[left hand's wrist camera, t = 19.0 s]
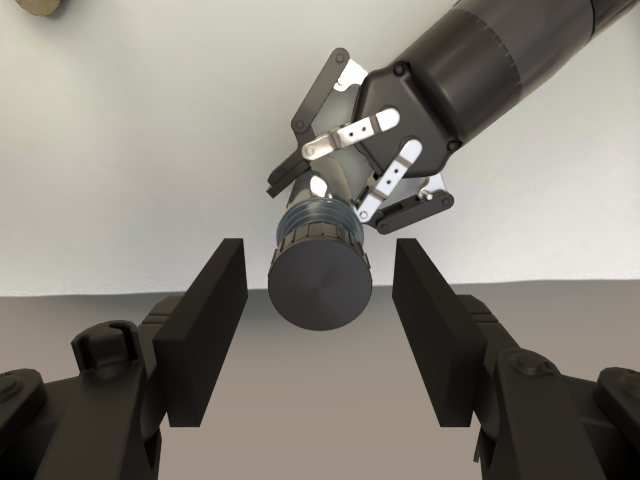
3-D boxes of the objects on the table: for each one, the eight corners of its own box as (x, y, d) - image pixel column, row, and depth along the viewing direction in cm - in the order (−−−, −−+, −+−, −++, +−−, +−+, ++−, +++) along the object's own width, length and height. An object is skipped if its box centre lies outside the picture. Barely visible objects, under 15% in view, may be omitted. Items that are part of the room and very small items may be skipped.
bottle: (297, 202, 33) (268, 327, 14) (294, 154, 31) (258, 226, 13) (344, 201, 33) (374, 325, 14) (344, 153, 31) (378, 223, 13)
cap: (259, 233, 14) (251, 251, 12) (357, 211, 14) (362, 225, 12) (287, 315, 16) (283, 341, 14) (375, 296, 15) (382, 320, 14)
